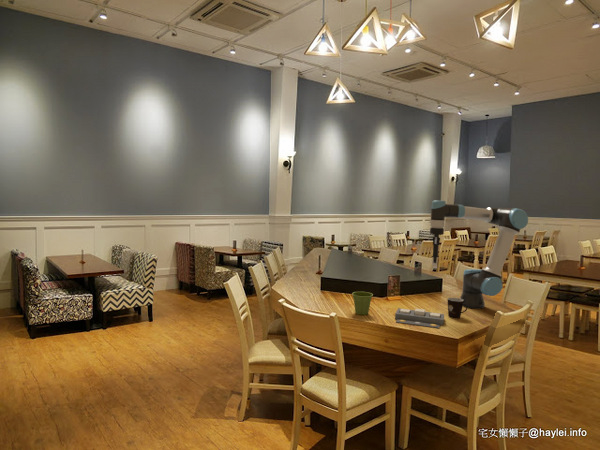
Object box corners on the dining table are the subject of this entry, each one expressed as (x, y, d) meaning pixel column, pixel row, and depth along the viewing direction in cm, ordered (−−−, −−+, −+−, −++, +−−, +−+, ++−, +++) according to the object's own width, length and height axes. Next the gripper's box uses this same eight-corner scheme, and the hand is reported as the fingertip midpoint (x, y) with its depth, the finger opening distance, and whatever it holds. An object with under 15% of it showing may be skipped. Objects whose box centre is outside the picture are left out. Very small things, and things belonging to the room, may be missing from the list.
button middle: (424, 313, 239) (425, 309, 239) (424, 316, 234) (424, 312, 234) (415, 312, 241) (415, 308, 240) (414, 315, 236) (414, 310, 236)
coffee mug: (443, 314, 249) (444, 297, 248) (458, 314, 249) (459, 297, 249) (452, 320, 237) (453, 302, 236) (467, 320, 238) (468, 302, 237)
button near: (439, 318, 236) (440, 313, 236) (439, 320, 231) (439, 316, 231) (430, 316, 238) (430, 312, 238) (429, 319, 233) (430, 314, 233)
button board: (443, 319, 239) (444, 314, 239) (442, 325, 228) (443, 319, 227) (398, 313, 247) (398, 308, 247) (394, 318, 236) (395, 313, 236)
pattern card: (439, 325, 228) (439, 324, 228) (439, 328, 222) (439, 327, 222) (397, 319, 235) (397, 318, 235) (396, 322, 230) (396, 321, 230)
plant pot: (355, 309, 253) (356, 290, 252) (375, 312, 247) (376, 293, 246) (347, 314, 243) (348, 294, 242) (367, 317, 237) (368, 297, 236)
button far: (409, 314, 242) (410, 309, 241) (408, 316, 237) (409, 312, 237) (400, 312, 243) (401, 308, 243) (399, 315, 239) (399, 310, 239)
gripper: (431, 226, 254) (428, 265, 256) (429, 227, 242) (426, 269, 244) (444, 227, 251) (441, 267, 253) (443, 228, 239) (440, 270, 241)
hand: (434, 268), depth 248 cm, fingers closed
